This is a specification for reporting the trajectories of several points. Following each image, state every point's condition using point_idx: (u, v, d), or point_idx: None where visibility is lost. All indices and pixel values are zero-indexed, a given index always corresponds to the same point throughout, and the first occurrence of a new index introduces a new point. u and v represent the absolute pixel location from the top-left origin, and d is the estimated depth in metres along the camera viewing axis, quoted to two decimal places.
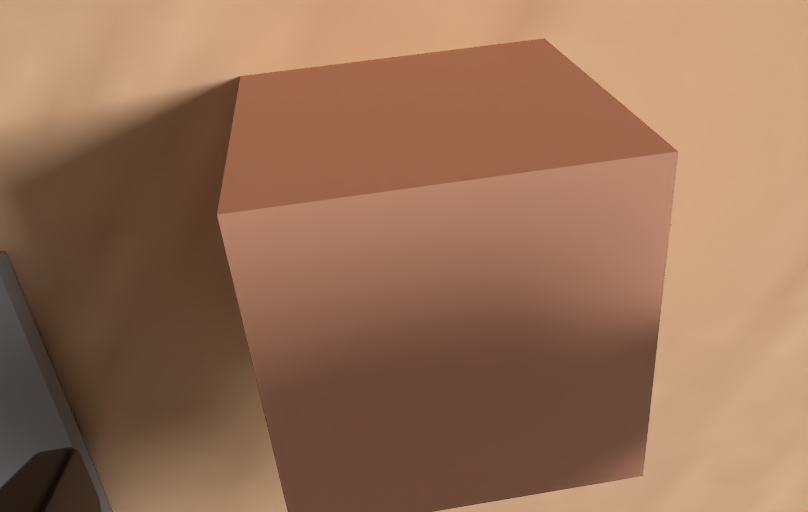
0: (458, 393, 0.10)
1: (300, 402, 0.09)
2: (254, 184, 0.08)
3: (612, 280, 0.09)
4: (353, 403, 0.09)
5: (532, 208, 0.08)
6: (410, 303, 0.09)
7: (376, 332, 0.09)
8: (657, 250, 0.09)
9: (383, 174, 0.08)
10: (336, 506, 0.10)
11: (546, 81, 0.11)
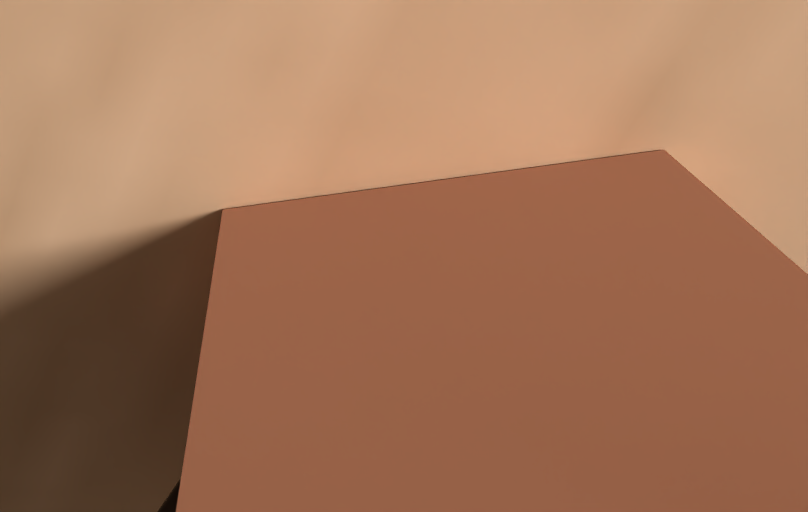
0: None
1: None
2: None
3: None
4: None
5: None
6: None
7: None
8: None
9: (476, 509, 0.04)
10: None
11: (706, 252, 0.07)
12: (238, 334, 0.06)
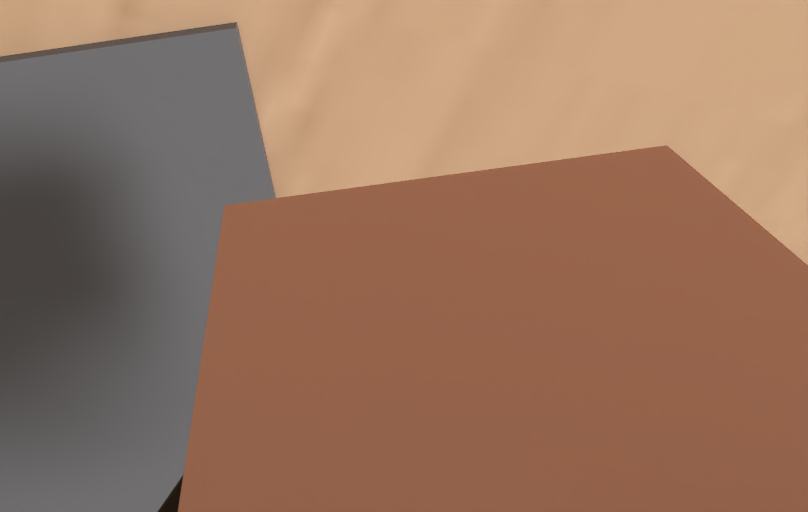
0: None
1: None
2: None
3: None
4: None
5: None
6: None
7: None
8: None
9: (480, 502, 0.04)
10: None
11: (709, 248, 0.07)
12: (240, 329, 0.06)
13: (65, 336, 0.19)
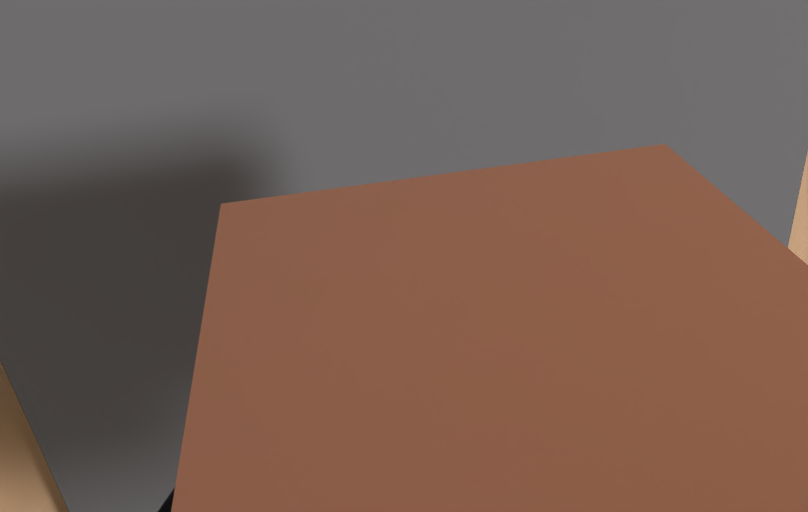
0: None
1: None
2: None
3: None
4: None
5: None
6: None
7: None
8: None
9: (475, 500, 0.04)
10: None
11: (706, 246, 0.07)
12: (236, 327, 0.06)
13: (506, 126, 0.14)
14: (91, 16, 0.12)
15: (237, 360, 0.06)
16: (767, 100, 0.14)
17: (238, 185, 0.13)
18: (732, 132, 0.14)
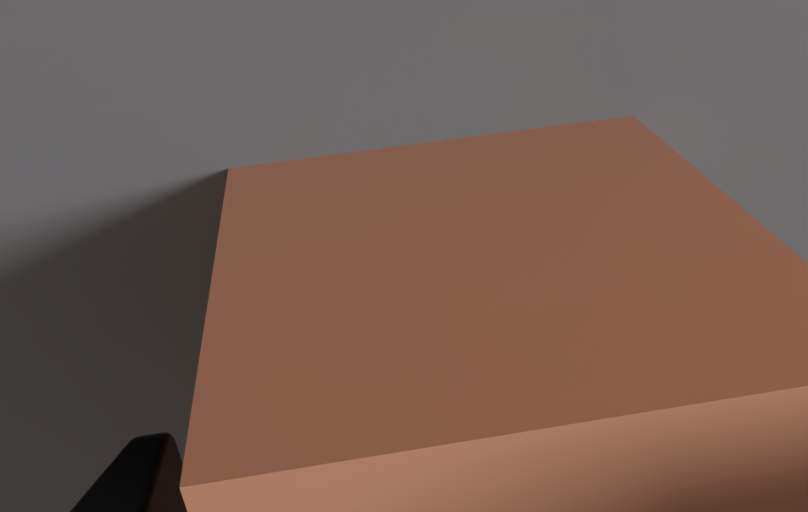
0: None
1: None
2: (242, 408, 0.05)
3: None
4: None
5: (690, 453, 0.05)
6: None
7: None
8: None
9: (450, 394, 0.05)
10: None
11: (662, 199, 0.07)
12: (244, 267, 0.07)
13: None
14: (18, 102, 0.08)
15: (245, 292, 0.07)
16: None
17: None
18: None
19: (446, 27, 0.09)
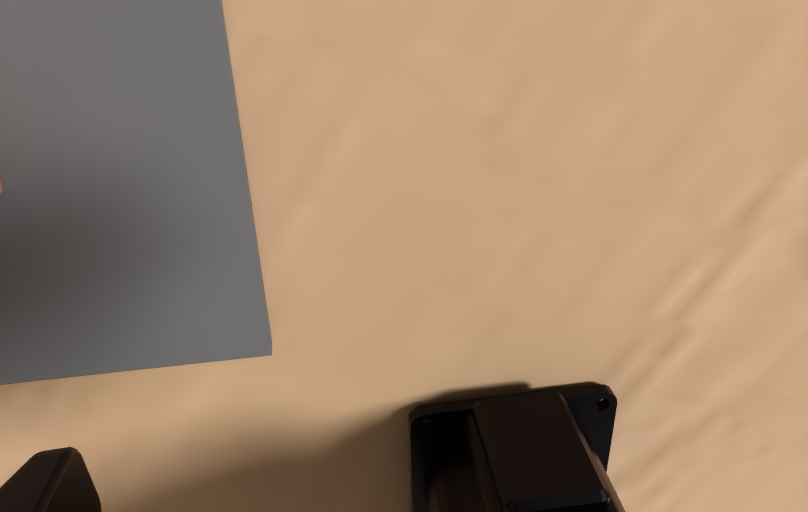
0: None
1: None
2: None
3: None
4: None
5: None
6: None
7: None
8: None
9: None
10: None
11: None
12: None
13: None
14: None
15: None
16: (175, 35, 0.16)
17: None
18: (151, 63, 0.16)
19: None
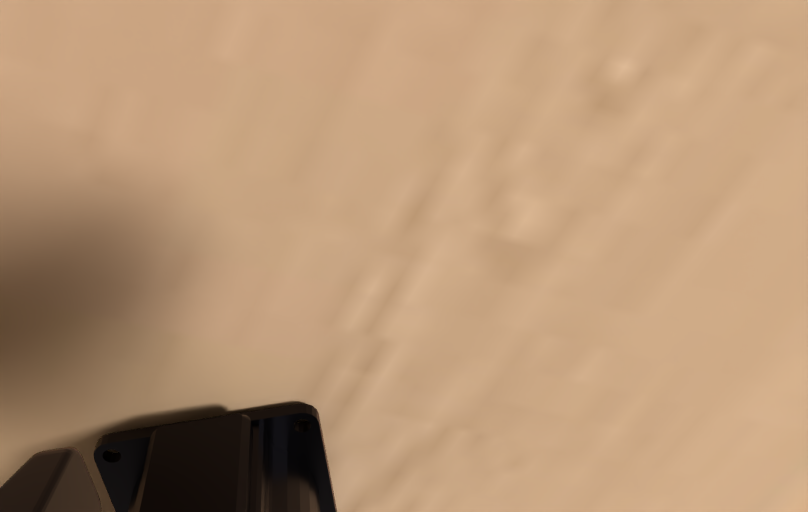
0: None
1: None
2: None
3: None
4: None
5: None
6: None
7: None
8: None
9: None
10: None
11: None
12: None
13: None
14: None
15: None
16: None
17: None
18: None
19: None
